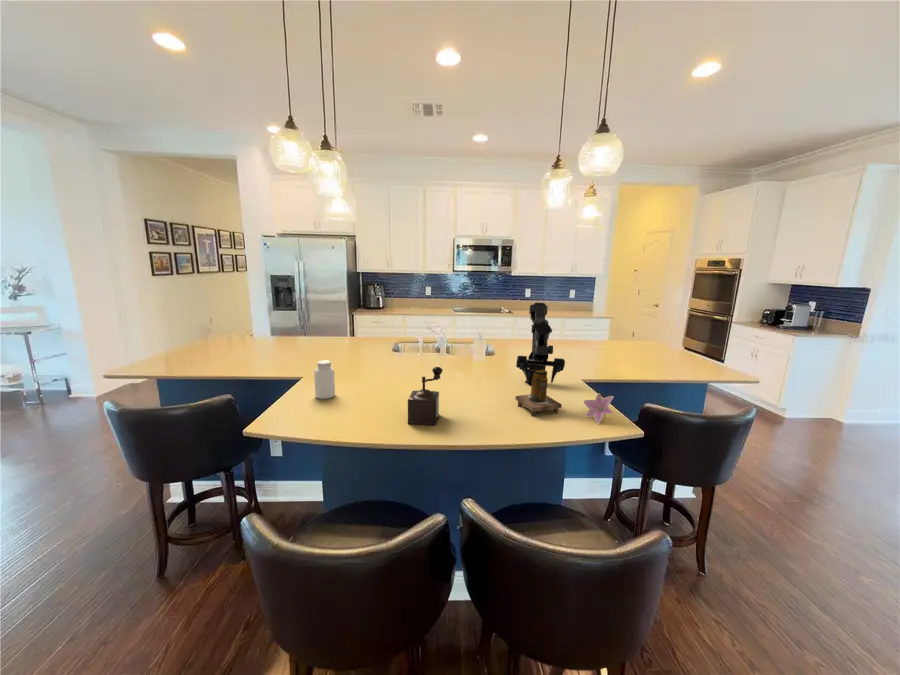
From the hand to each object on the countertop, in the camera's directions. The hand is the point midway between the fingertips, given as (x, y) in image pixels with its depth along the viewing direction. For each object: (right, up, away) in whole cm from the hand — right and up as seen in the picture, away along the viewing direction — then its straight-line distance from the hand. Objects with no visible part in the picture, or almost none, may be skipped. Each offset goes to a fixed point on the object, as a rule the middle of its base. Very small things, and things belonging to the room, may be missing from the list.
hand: (539, 381), depth 145 cm
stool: (0, -12, +4) cm, 12 cm away
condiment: (0, -8, +3) cm, 8 cm away
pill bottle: (-88, -8, +12) cm, 89 cm away
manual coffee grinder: (-44, -13, -6) cm, 47 cm away
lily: (+21, -14, -3) cm, 26 cm away
